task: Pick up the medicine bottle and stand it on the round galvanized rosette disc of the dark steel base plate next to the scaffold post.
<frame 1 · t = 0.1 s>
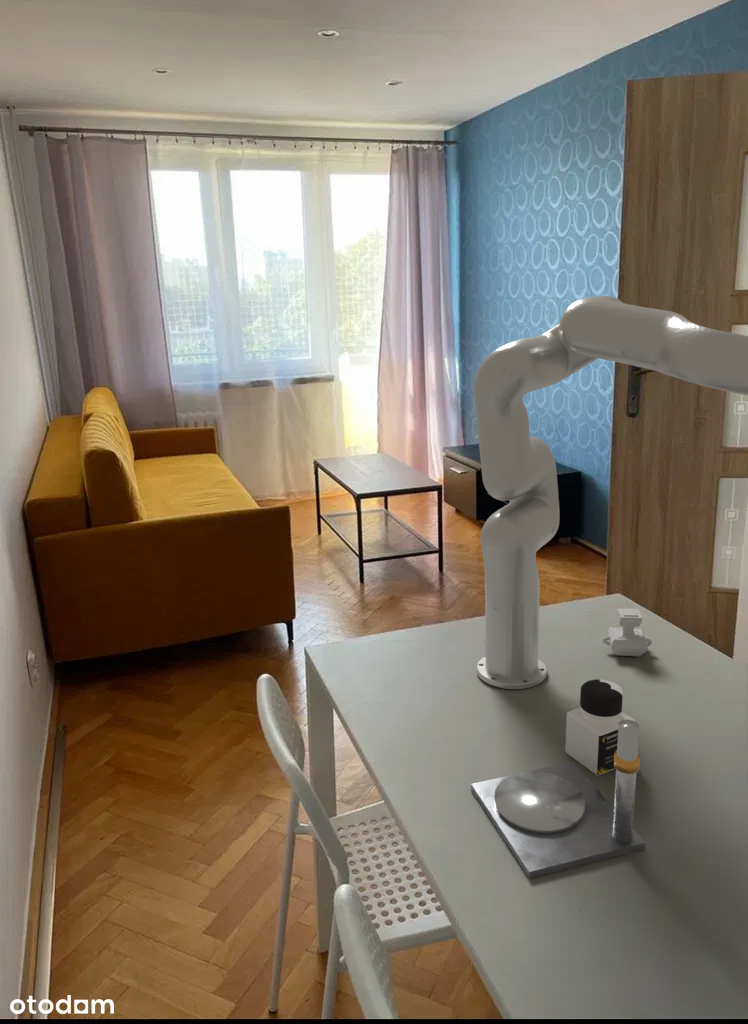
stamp: (626, 653, 148), on the table
medicine bottle: (598, 758, 117), on the table
rosette plate: (552, 817, 104), on the table
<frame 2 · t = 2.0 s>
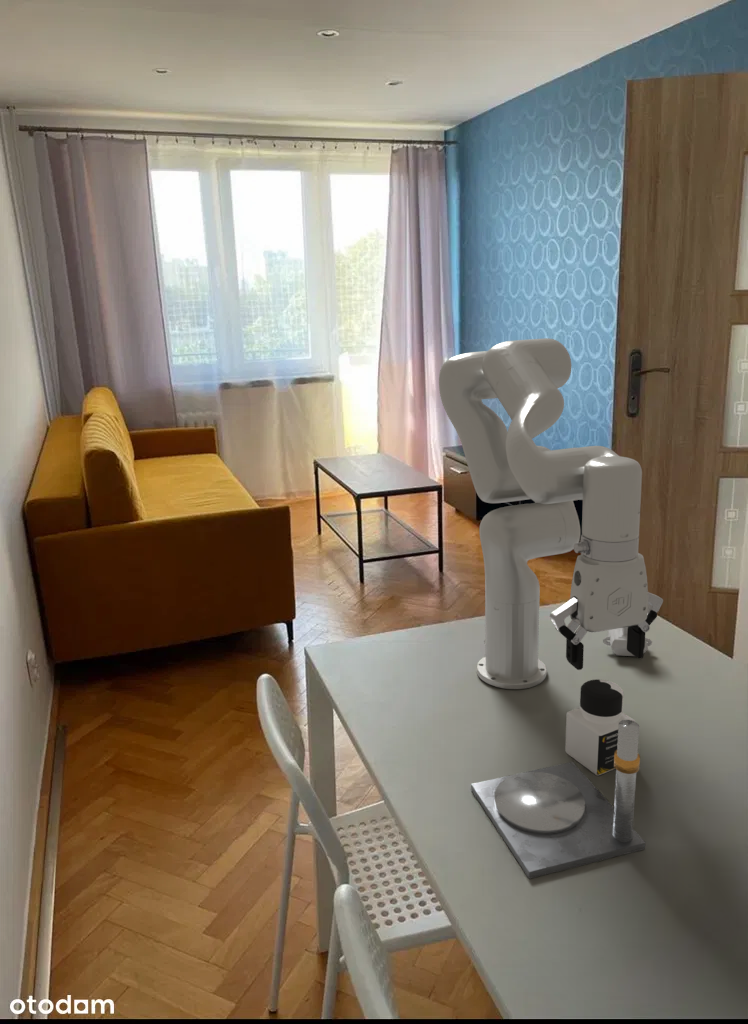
hand: (605, 660, 112), 16 cm above the table, tool pointing down, fingers open, 9 cm apart
nothing on the table moved.
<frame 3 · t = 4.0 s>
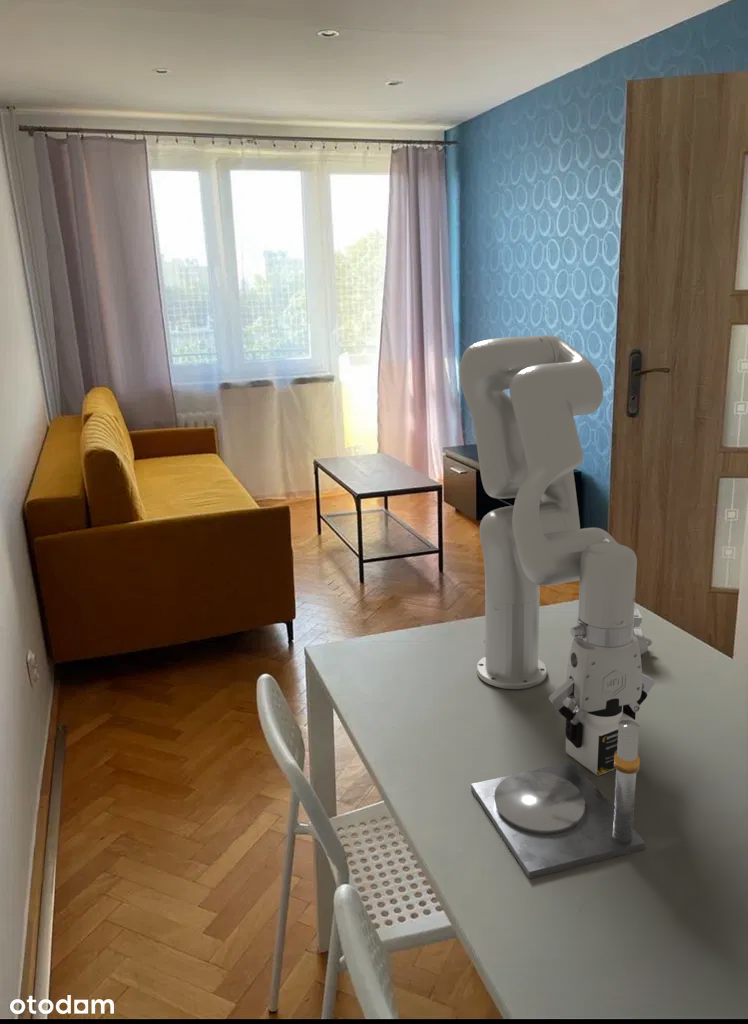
hand: (600, 736, 116), 4 cm above the table, tool pointing down, fingers closed on medicine bottle, 8 cm apart
medicine bottle: (598, 758, 117), on the table, touching gripper
everything else where it was.
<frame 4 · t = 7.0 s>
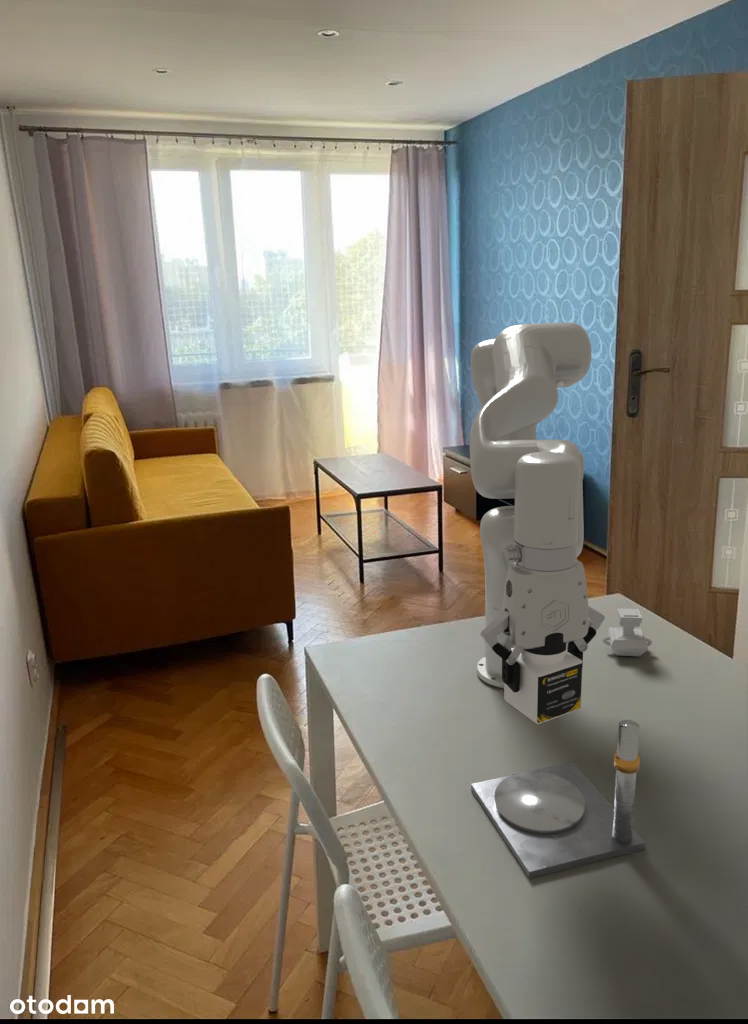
hand: (542, 680, 100), 20 cm above the table, tool pointing down, fingers closed on medicine bottle, 8 cm apart
medicine bottle: (541, 706, 101), point 16 cm above the table, touching gripper
everything else where it was.
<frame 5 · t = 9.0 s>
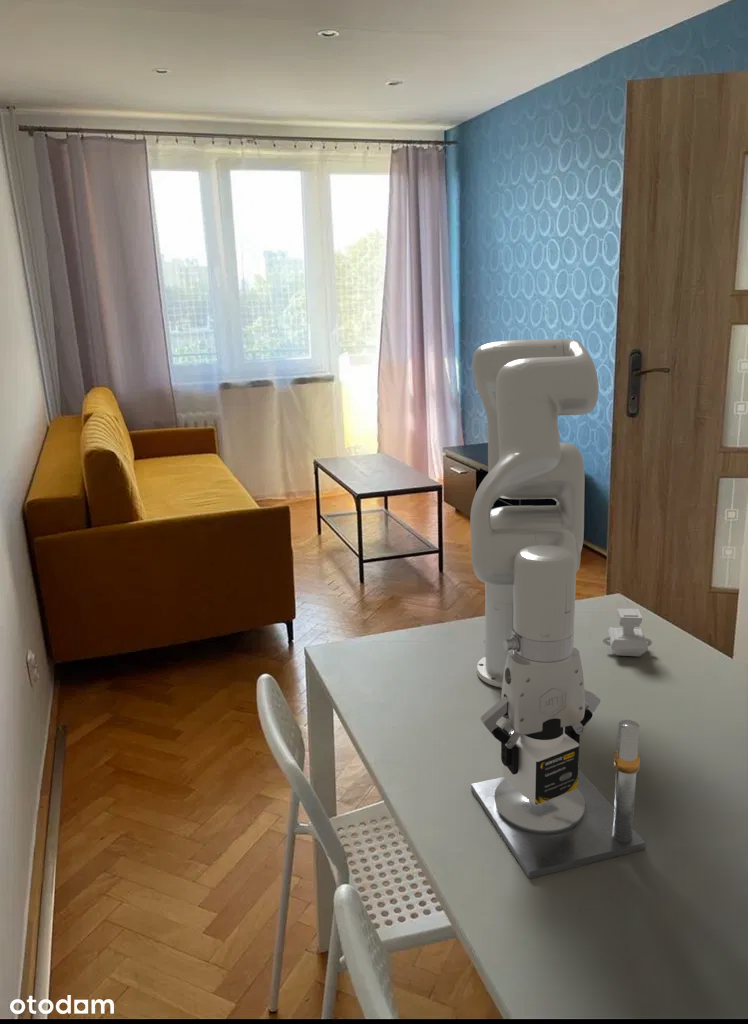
hand: (540, 761, 104), 8 cm above the table, tool pointing down, fingers closed on medicine bottle, 8 cm apart
medicine bottle: (539, 785, 105), point 4 cm above the table, touching gripper
everything else where it was.
when the fingers open (6 cm above the table, at t = 10.4 s): medicine bottle stays where it is, resting on rosette plate.
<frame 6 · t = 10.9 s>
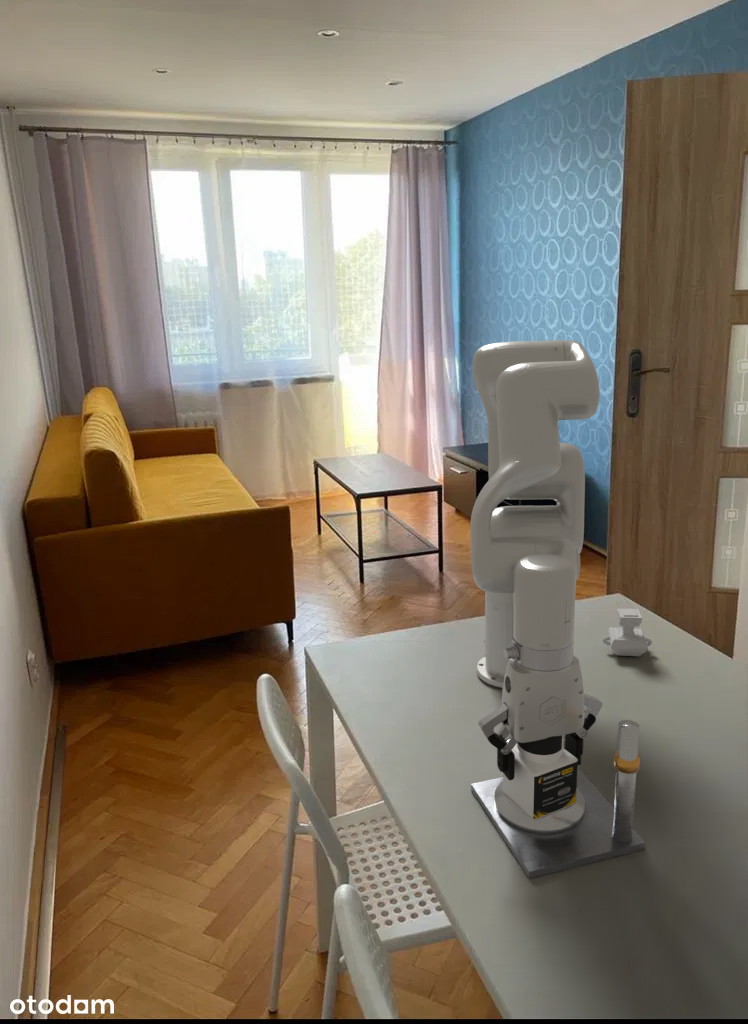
hand: (540, 766, 104), 7 cm above the table, tool pointing down, fingers open, 9 cm apart
medicine bottle: (538, 799, 105), point 2 cm above the table, touching rosette plate
everything else where it was.
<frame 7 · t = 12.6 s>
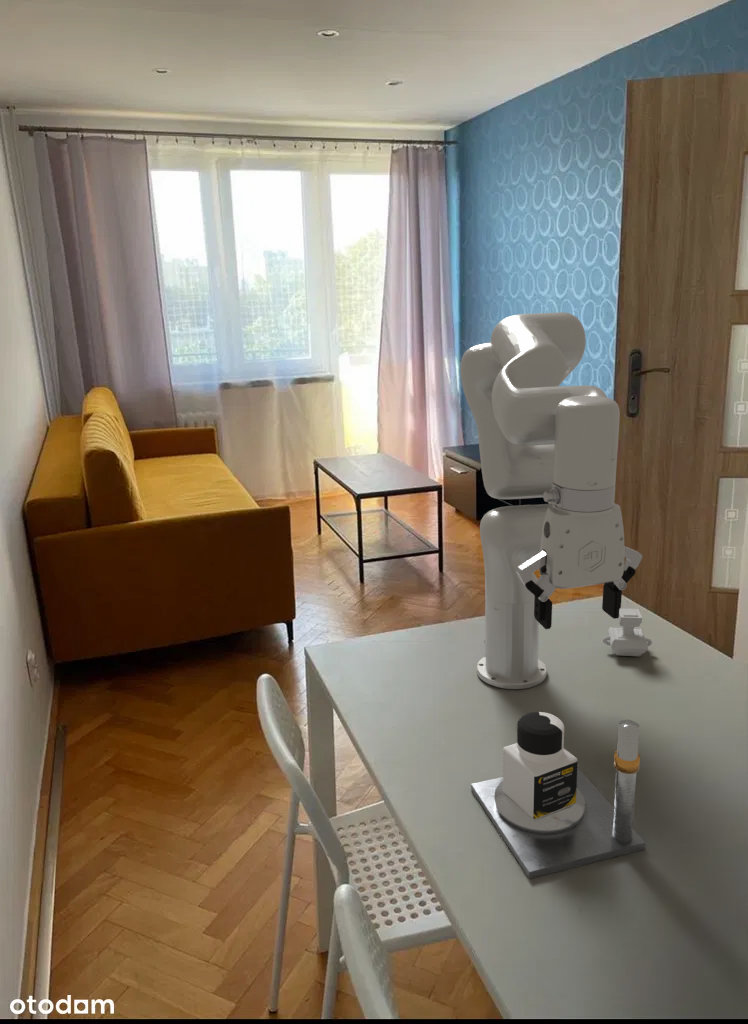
hand: (577, 619, 103), 26 cm above the table, tool pointing down, fingers open, 9 cm apart
nothing on the table moved.
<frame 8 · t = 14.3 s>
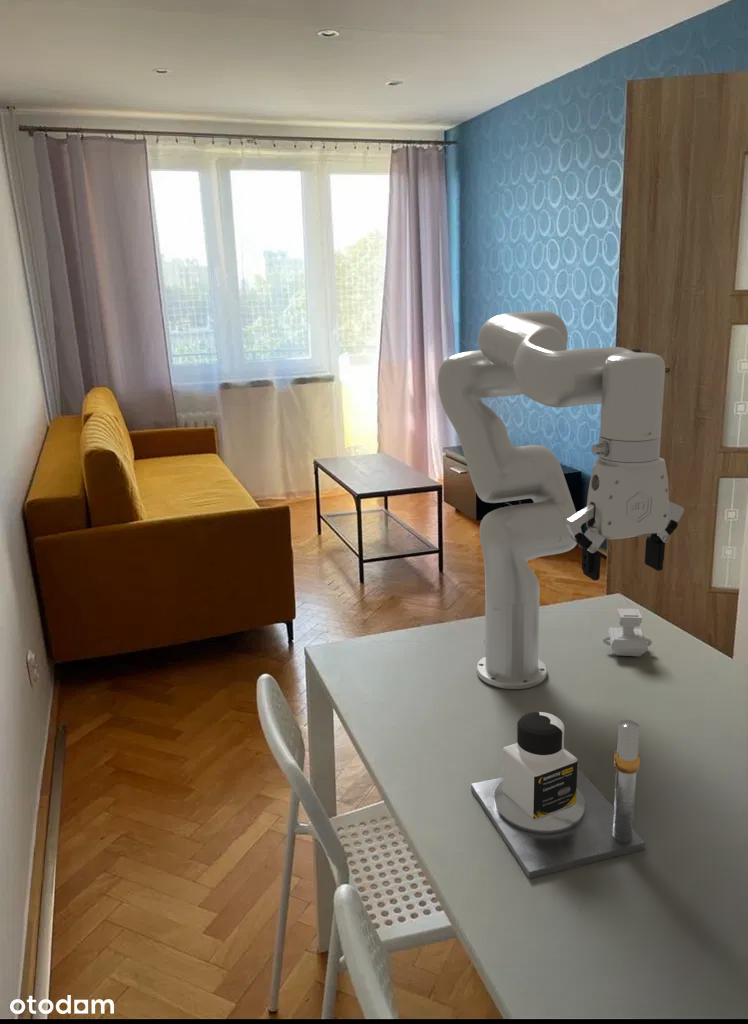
hand: (622, 572, 106), 30 cm above the table, tool pointing down, fingers open, 9 cm apart
nothing on the table moved.
at the end: medicine bottle inside the target area (0.1 cm from its centre), point 1.6 cm above the table; medicine bottle tilted 0°; the gripper is holding nothing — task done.
